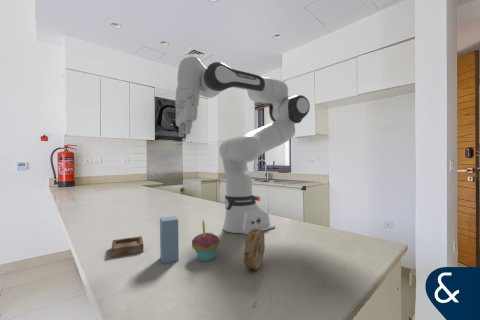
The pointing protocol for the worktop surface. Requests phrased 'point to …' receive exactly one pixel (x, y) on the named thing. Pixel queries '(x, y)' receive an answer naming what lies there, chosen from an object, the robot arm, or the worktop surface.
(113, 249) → the walnut base
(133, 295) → the worktop surface
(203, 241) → the cupcake
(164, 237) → the slate block
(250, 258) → the bagel
